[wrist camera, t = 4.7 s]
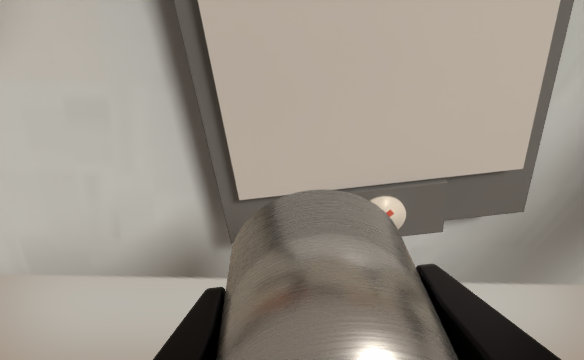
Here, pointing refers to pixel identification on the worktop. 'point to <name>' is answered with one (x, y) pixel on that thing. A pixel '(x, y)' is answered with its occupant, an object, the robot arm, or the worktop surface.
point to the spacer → (326, 286)
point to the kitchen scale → (375, 101)
